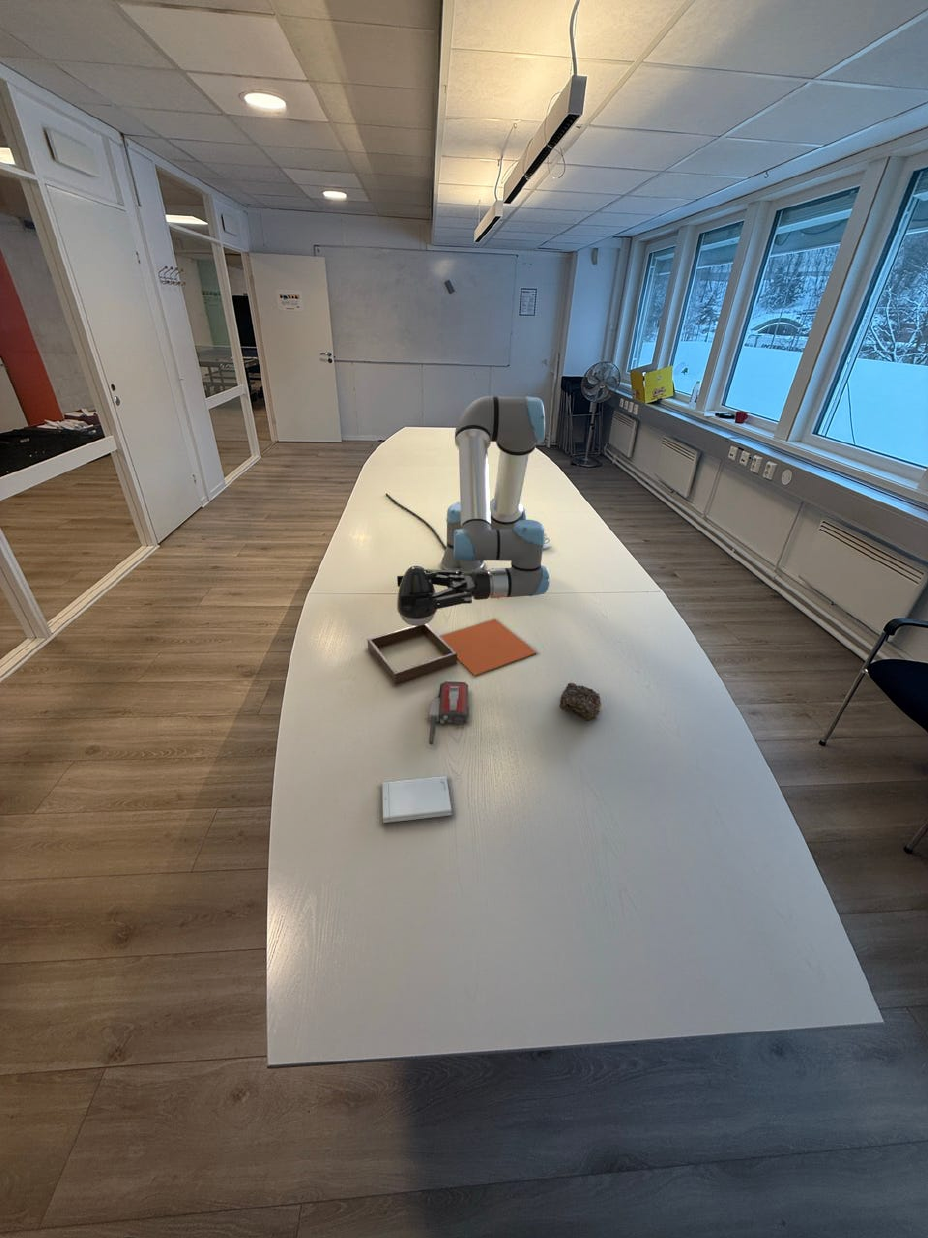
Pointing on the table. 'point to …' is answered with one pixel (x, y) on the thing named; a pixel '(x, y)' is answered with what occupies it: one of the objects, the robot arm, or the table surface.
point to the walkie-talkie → (449, 706)
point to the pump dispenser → (416, 583)
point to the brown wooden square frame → (416, 670)
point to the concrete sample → (581, 701)
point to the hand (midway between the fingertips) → (399, 590)
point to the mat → (486, 646)
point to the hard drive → (415, 799)
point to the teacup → (546, 544)
